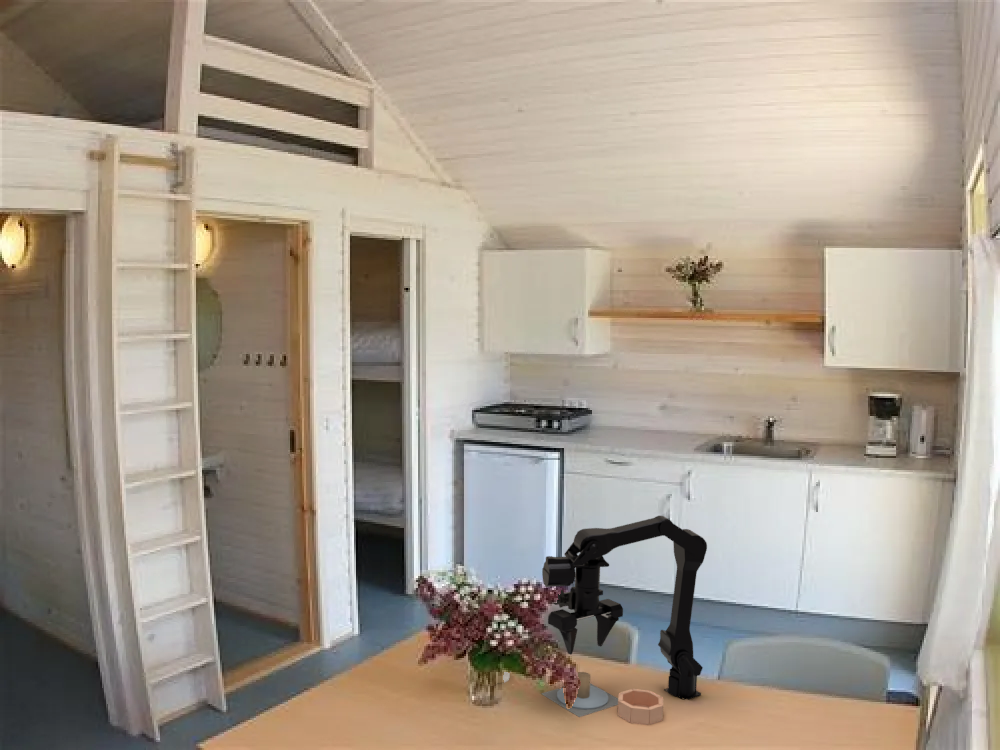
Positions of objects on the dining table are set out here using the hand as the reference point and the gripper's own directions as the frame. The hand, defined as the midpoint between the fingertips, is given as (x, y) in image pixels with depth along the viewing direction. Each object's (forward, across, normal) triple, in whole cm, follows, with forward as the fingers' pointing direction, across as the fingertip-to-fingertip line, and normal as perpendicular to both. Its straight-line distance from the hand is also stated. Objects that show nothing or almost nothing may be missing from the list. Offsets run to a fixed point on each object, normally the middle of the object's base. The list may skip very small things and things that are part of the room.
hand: (584, 649), depth 206 cm
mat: (+12, 0, 0) cm, 12 cm away
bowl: (+12, -6, +13) cm, 19 cm away
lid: (+12, 0, 0) cm, 12 cm away
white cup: (+12, +11, -20) cm, 26 cm away
